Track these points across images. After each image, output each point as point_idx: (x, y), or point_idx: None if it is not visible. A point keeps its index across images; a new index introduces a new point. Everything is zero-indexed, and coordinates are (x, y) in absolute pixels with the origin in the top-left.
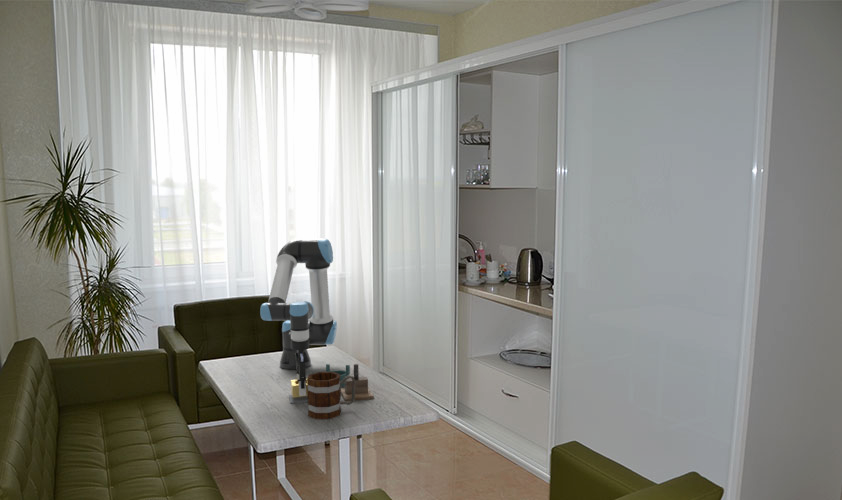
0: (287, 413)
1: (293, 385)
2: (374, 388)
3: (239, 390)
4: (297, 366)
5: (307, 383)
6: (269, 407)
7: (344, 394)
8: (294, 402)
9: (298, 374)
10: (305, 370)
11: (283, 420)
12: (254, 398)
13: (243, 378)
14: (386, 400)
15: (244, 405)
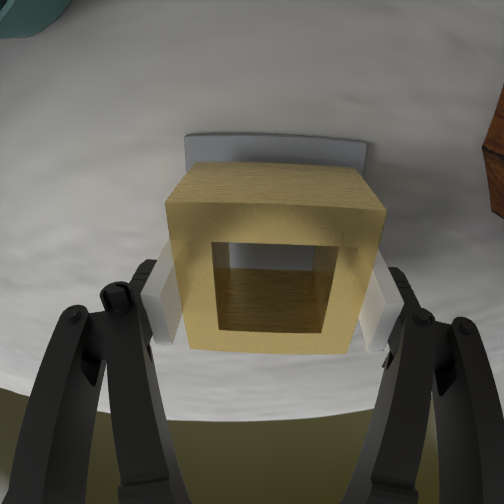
0: (452, 302)
1: (344, 348)
2: None
3: (108, 393)
4: (166, 427)
5: (349, 248)
6: (339, 356)
7: None
8: None
9: (159, 333)
10: (500, 405)
11: (496, 314)
12: (199, 383)
13: (10, 357)
14: None
15: (272, 406)
